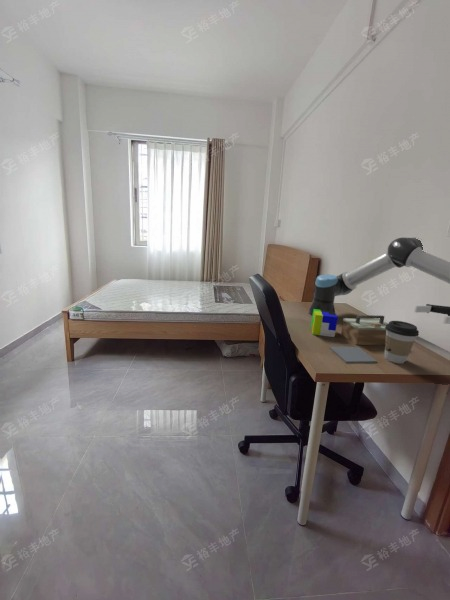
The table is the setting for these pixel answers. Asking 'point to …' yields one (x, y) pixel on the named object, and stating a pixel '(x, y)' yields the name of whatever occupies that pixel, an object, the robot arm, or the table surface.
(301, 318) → the table surface
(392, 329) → the coffee cup
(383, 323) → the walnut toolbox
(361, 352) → the slate mat
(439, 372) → the table surface
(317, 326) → the puzzle toy
